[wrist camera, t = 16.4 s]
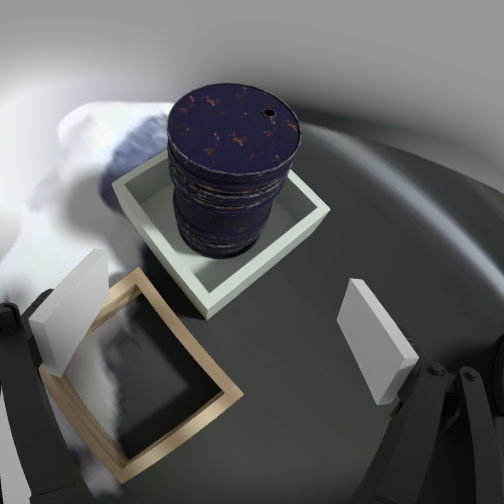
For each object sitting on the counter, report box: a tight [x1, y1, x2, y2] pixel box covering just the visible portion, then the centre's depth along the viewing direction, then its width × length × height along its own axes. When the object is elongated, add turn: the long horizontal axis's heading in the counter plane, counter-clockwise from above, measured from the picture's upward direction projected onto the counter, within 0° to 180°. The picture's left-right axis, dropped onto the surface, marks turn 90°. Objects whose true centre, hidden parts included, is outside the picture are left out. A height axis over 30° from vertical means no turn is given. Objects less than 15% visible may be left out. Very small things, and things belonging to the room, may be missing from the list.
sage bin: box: [111, 150, 330, 320], centre depth 32 cm, size 16×16×6 cm
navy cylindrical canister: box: [167, 83, 302, 259], centre depth 27 cm, size 10×10×15 cm
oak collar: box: [39, 267, 244, 484], centre depth 25 cm, size 15×15×4 cm
